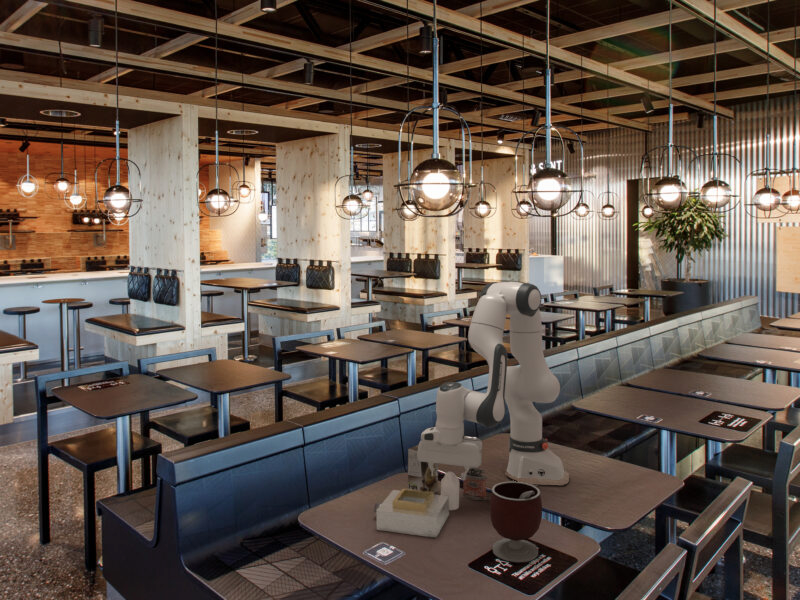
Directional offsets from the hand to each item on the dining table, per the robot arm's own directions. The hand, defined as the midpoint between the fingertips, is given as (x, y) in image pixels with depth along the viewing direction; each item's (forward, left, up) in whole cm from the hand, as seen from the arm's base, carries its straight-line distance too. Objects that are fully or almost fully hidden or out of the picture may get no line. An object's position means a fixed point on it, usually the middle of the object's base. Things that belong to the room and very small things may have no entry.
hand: (448, 477), depth 203 cm
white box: (+9, +14, -10) cm, 19 cm away
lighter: (-6, -10, -10) cm, 16 cm away
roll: (0, 0, -10) cm, 10 cm away
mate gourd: (-24, +24, -10) cm, 35 cm away
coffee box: (+11, -8, -10) cm, 17 cm away
